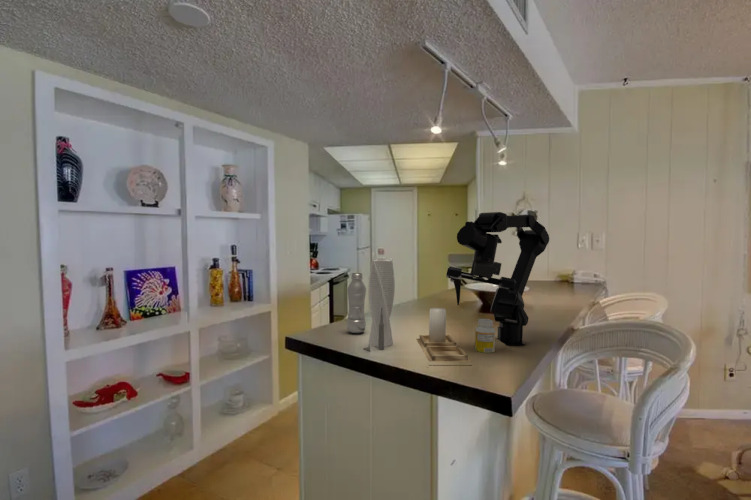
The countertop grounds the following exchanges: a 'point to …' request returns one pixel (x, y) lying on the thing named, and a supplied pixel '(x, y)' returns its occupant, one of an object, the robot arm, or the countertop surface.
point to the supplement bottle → (485, 336)
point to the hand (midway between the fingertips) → (474, 308)
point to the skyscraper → (381, 302)
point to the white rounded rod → (437, 325)
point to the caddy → (442, 350)
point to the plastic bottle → (356, 304)
